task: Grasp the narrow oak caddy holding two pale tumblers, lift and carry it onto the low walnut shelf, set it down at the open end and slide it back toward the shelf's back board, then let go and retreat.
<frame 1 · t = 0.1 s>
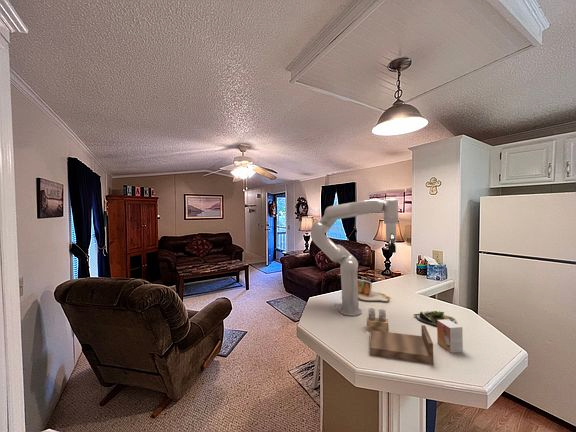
hand: (392, 251, 138), 37 cm above the worktop, tool pointing down, fingers open, 9 cm apart
walnut shelf: (398, 348, 105), on the worktop
salad plate: (434, 321, 132), on the worktop
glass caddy: (377, 329, 123), on the worktop
small box: (449, 348, 105), on the worktop
religious ornament: (370, 298, 169), on the worktop
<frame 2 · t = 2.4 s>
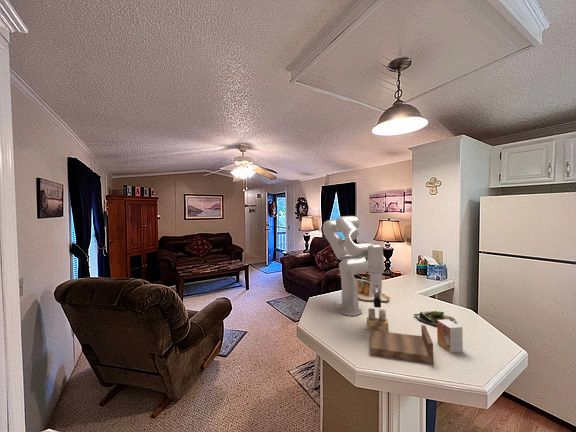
hand: (377, 303, 123), 13 cm above the worktop, tool pointing down, fingers open, 9 cm apart
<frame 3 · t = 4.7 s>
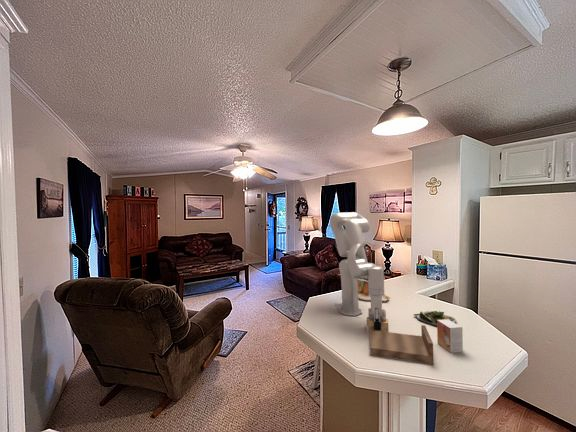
hand: (377, 326, 123), 1 cm above the worktop, tool pointing down, fingers closed on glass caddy, 5 cm apart
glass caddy: (377, 329, 123), on the worktop, touching gripper
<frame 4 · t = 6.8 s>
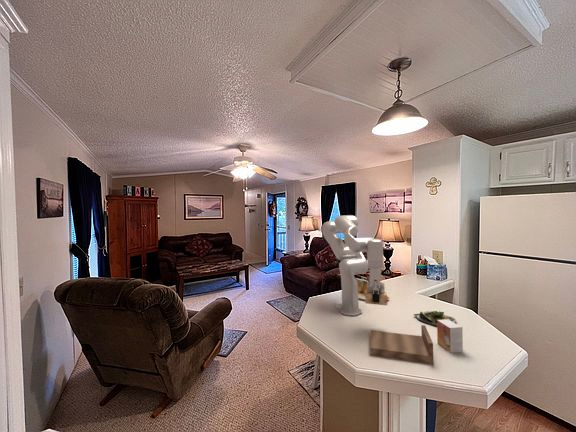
hand: (375, 299, 124), 15 cm above the worktop, tool pointing down, fingers closed on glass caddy, 5 cm apart
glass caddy: (376, 302, 124), point 13 cm above the worktop, touching gripper
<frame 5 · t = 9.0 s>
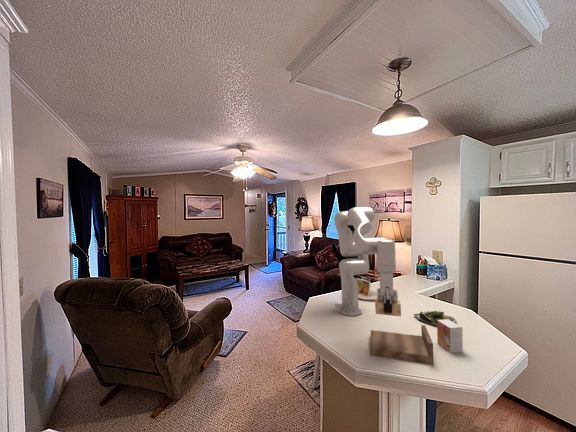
hand: (387, 309, 107), 17 cm above the worktop, tool pointing down, fingers closed on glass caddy, 5 cm apart
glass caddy: (387, 312, 107), point 15 cm above the worktop, touching gripper
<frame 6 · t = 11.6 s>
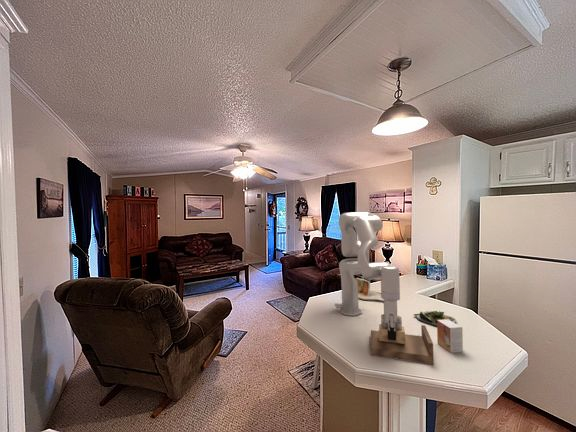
hand: (391, 336, 106), 5 cm above the worktop, tool pointing down, fingers closed on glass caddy, 5 cm apart
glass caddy: (391, 339, 106), point 4 cm above the worktop, touching gripper
when the fingers open (5 cm above the worktop, at t = 13.7 s): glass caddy stays where it is, resting on walnut shelf.
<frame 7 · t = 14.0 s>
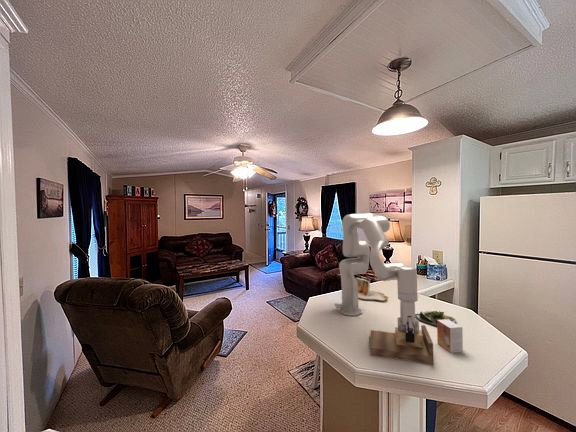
hand: (408, 337, 104), 6 cm above the worktop, tool pointing down, fingers open, 7 cm apart
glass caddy: (408, 343, 104), point 3 cm above the worktop, touching walnut shelf
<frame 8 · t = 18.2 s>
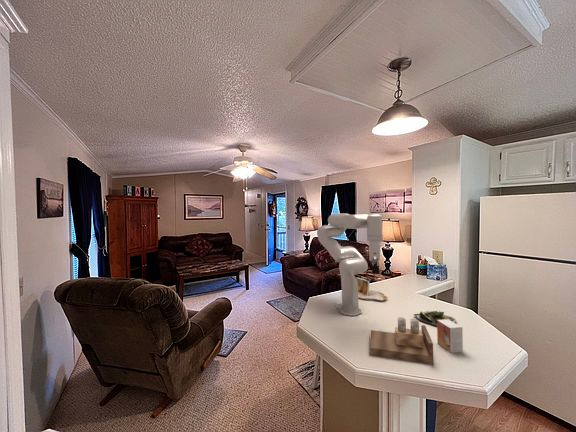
hand: (375, 271, 127), 28 cm above the worktop, tool pointing down, fingers open, 9 cm apart
at the end: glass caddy 0.1 cm from the target spot on the walnut shelf, point 3.0 cm above the walnut shelf's base; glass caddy tilted 0°; the gripper is holding nothing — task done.
